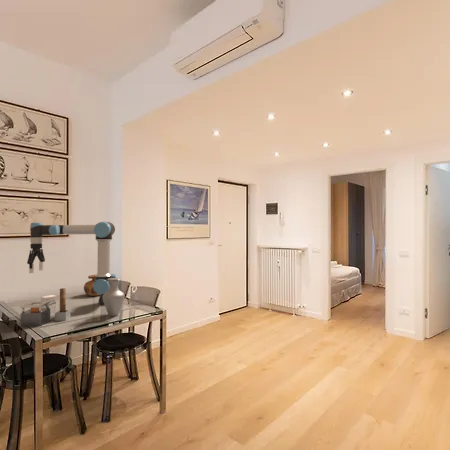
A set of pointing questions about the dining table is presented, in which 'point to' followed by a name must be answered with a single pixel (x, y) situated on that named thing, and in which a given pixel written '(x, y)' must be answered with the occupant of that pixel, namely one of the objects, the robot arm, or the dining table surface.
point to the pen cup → (62, 316)
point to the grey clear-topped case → (35, 314)
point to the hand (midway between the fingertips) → (36, 271)
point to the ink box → (52, 302)
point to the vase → (113, 297)
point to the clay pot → (90, 286)
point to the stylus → (63, 300)
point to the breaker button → (35, 309)
